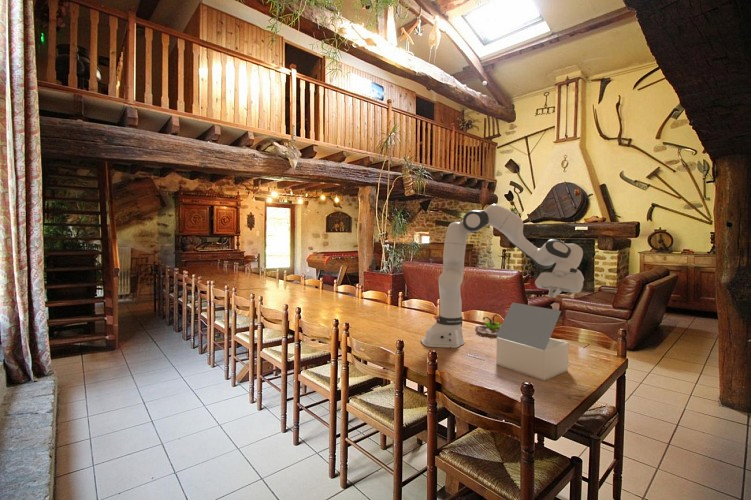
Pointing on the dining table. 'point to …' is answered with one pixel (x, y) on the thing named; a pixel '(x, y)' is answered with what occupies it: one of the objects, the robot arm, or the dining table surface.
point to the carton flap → (529, 325)
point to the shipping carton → (534, 358)
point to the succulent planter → (489, 328)
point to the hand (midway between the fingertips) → (551, 296)
